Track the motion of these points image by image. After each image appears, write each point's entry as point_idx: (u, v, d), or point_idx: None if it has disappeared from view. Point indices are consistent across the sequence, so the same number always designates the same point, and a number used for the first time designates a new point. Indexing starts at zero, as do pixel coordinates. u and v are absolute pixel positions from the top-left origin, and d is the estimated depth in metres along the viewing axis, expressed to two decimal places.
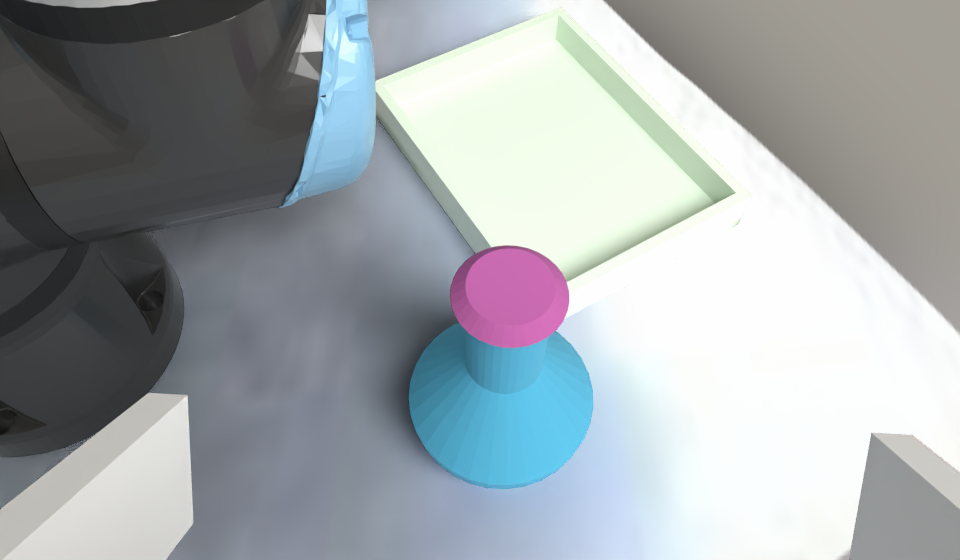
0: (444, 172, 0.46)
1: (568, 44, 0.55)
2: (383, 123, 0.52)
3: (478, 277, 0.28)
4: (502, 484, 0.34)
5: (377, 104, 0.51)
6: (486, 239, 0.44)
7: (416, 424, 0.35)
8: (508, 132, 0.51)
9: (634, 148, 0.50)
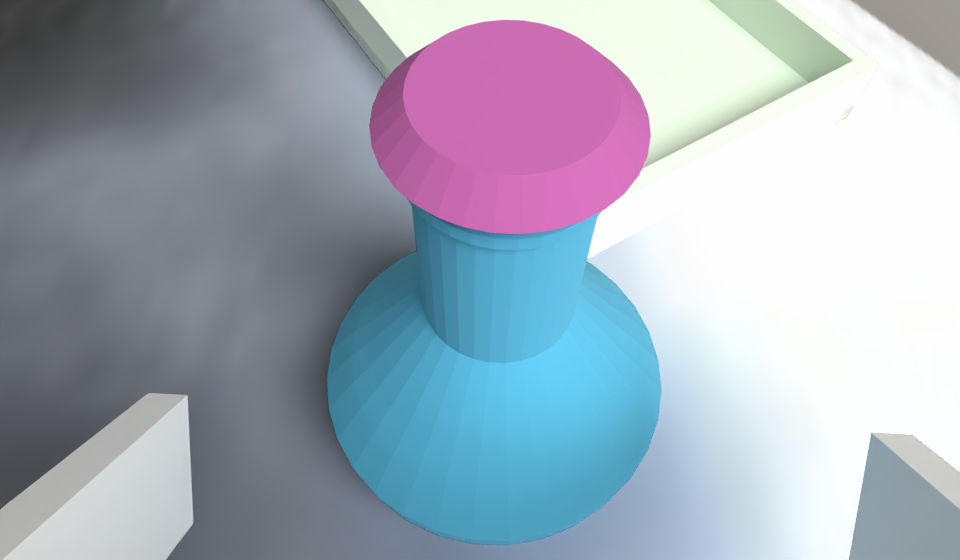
0: (402, 37, 0.30)
1: None
2: None
3: (434, 75, 0.12)
4: (499, 539, 0.18)
5: None
6: None
7: (338, 427, 0.19)
8: None
9: (685, 15, 0.34)
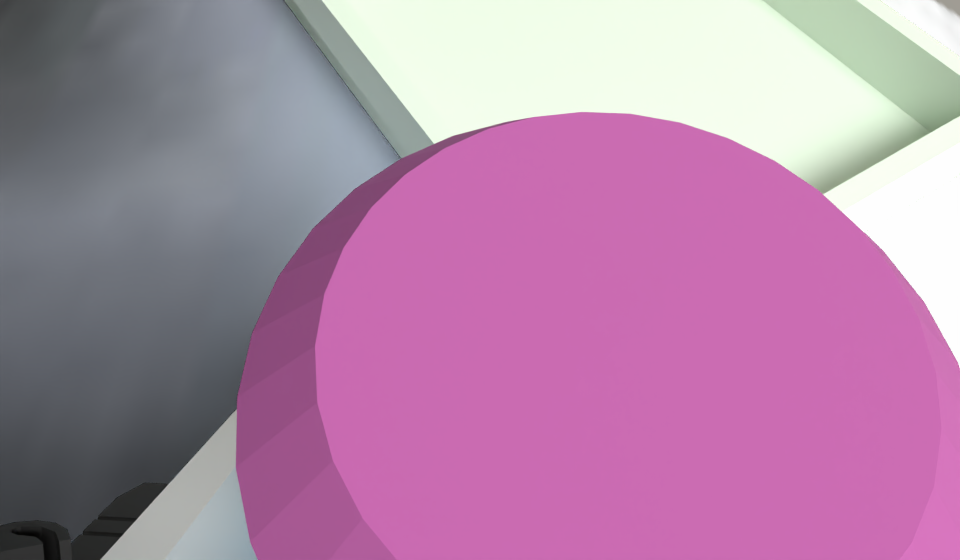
0: (388, 64, 0.23)
1: None
2: None
3: (407, 278, 0.04)
4: None
5: None
6: None
7: None
8: (516, 8, 0.27)
9: (752, 33, 0.27)
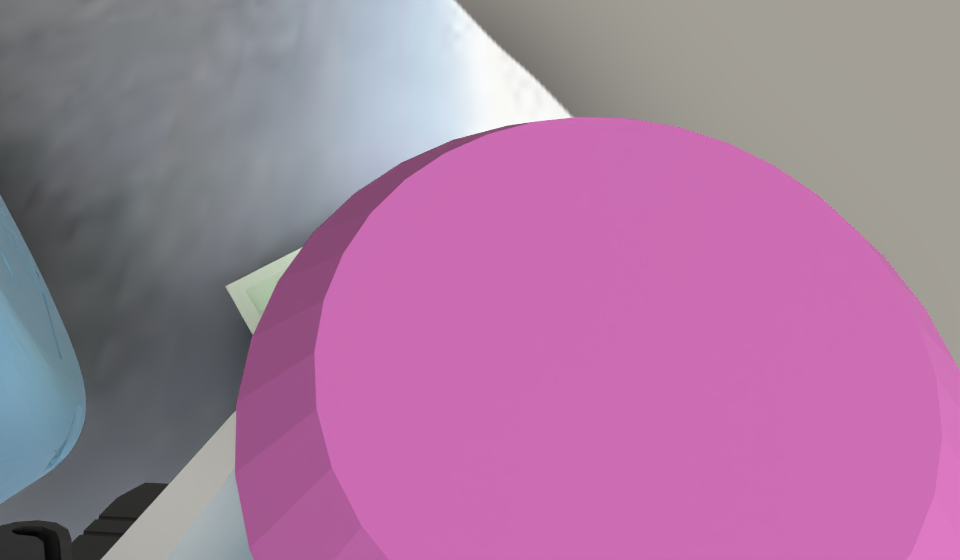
0: None
1: None
2: None
3: (407, 283, 0.04)
4: None
5: None
6: None
7: None
8: None
9: None
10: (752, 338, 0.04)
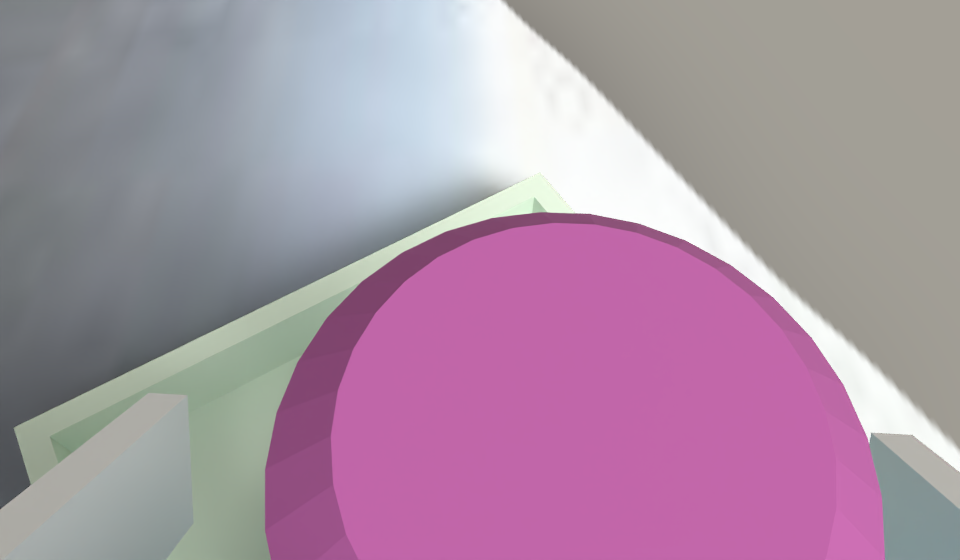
0: None
1: None
2: None
3: (406, 375, 0.05)
4: None
5: None
6: None
7: None
8: None
9: None
10: (688, 423, 0.05)
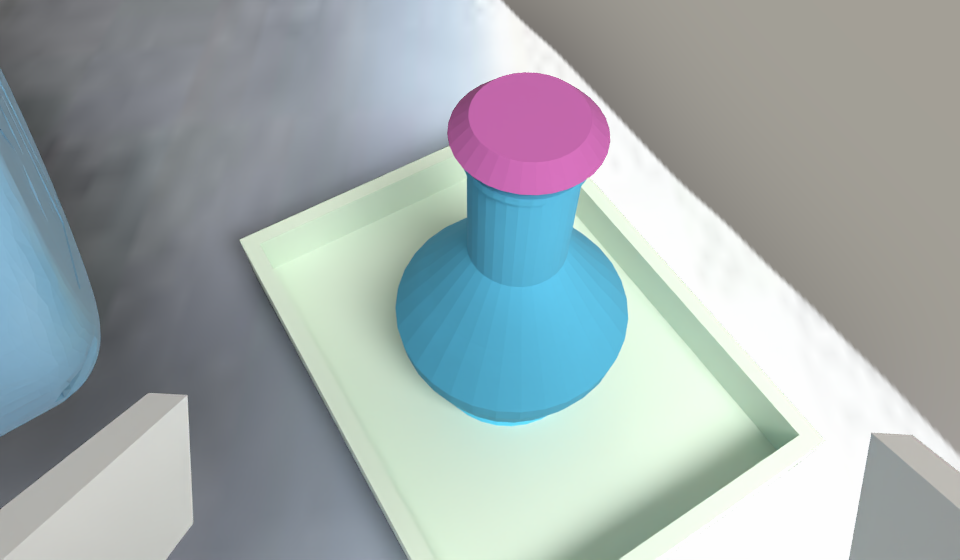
0: (339, 401, 0.29)
1: None
2: (265, 292, 0.35)
3: (486, 105, 0.20)
4: (515, 411, 0.27)
5: (253, 268, 0.34)
6: (398, 533, 0.27)
7: (405, 338, 0.28)
8: None
9: (636, 335, 0.34)
10: (556, 115, 0.20)
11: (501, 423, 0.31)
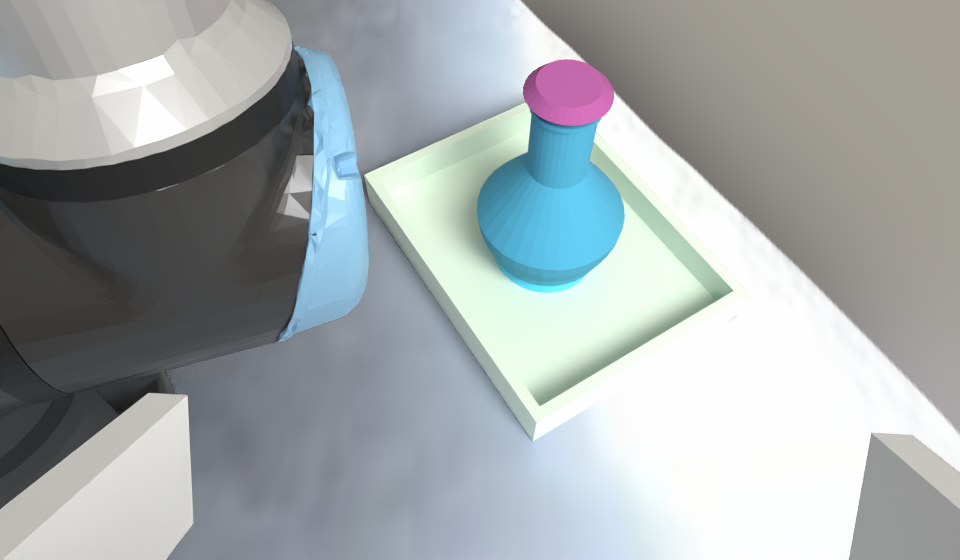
0: (439, 272, 0.46)
1: None
2: (378, 212, 0.52)
3: (545, 77, 0.37)
4: (555, 269, 0.43)
5: (371, 194, 0.51)
6: (483, 345, 0.43)
7: (484, 228, 0.44)
8: None
9: (630, 238, 0.50)
10: (584, 83, 0.37)
11: (542, 290, 0.48)
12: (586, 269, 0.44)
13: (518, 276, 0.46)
